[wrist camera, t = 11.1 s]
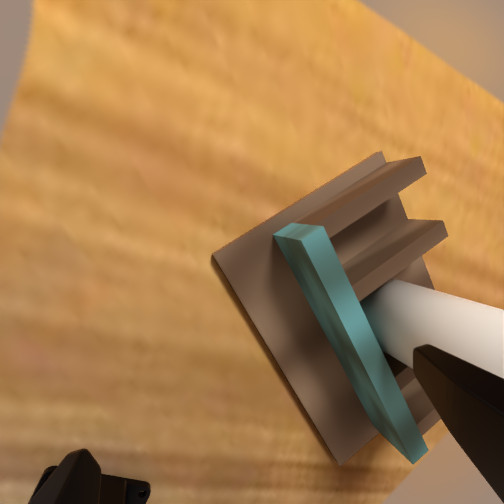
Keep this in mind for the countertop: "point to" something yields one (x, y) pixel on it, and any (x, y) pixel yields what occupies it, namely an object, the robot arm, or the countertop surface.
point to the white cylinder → (435, 324)
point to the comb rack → (340, 302)
